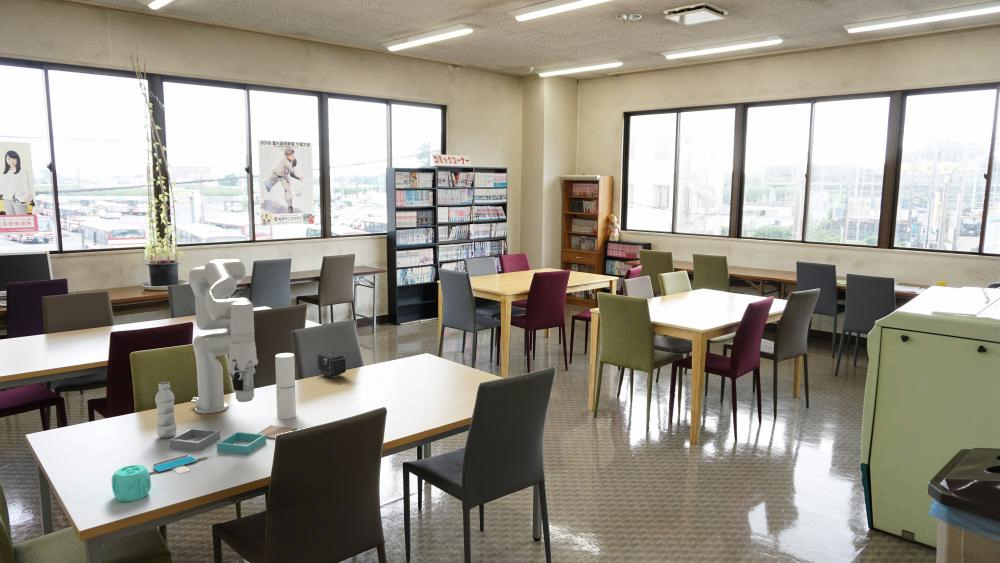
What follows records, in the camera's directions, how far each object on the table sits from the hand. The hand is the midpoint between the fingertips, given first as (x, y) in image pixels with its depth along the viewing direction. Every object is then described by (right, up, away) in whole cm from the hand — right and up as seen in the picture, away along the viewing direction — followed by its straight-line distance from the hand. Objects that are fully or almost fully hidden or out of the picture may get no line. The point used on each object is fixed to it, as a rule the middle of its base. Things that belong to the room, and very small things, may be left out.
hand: (244, 387), depth 233 cm
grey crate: (-19, -21, +4) cm, 28 cm away
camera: (+8, -9, +90) cm, 91 cm away
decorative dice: (-19, -26, -37) cm, 49 cm away
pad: (+6, -19, +14) cm, 25 cm away
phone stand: (-16, -24, -16) cm, 33 cm away
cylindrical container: (+4, -17, +33) cm, 38 cm away
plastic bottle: (-32, -20, +10) cm, 39 cm away
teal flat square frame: (-1, -21, +1) cm, 21 cm away
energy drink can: (0, -5, +1) cm, 5 cm away
